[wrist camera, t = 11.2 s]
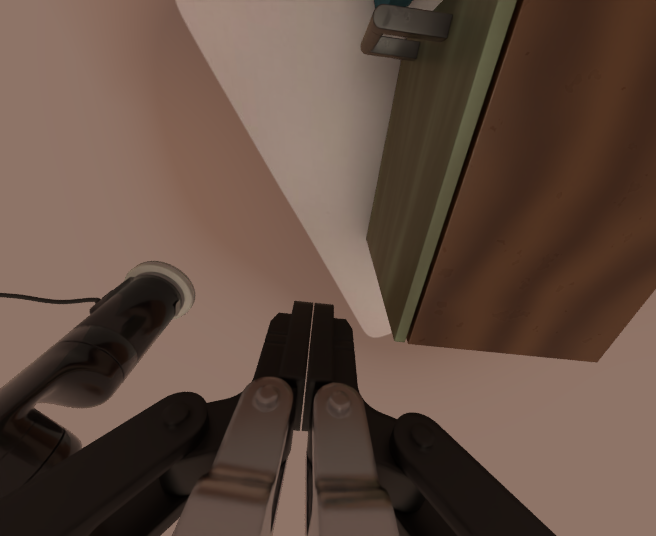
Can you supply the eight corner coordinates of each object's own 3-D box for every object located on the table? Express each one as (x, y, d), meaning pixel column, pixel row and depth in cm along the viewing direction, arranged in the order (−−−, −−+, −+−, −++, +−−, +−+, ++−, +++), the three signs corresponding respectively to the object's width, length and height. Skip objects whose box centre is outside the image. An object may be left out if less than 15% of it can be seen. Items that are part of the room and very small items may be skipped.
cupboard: (373, 239, 47) (408, 344, 26) (414, 40, 34) (551, -83, 13) (478, 251, 48) (597, 362, 26) (556, 61, 35) (904, -23, 14)
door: (332, 235, 47) (331, 335, 25) (359, 32, 34) (403, -105, 13) (372, 239, 47) (404, 342, 26) (413, 40, 34) (544, -82, 13)
